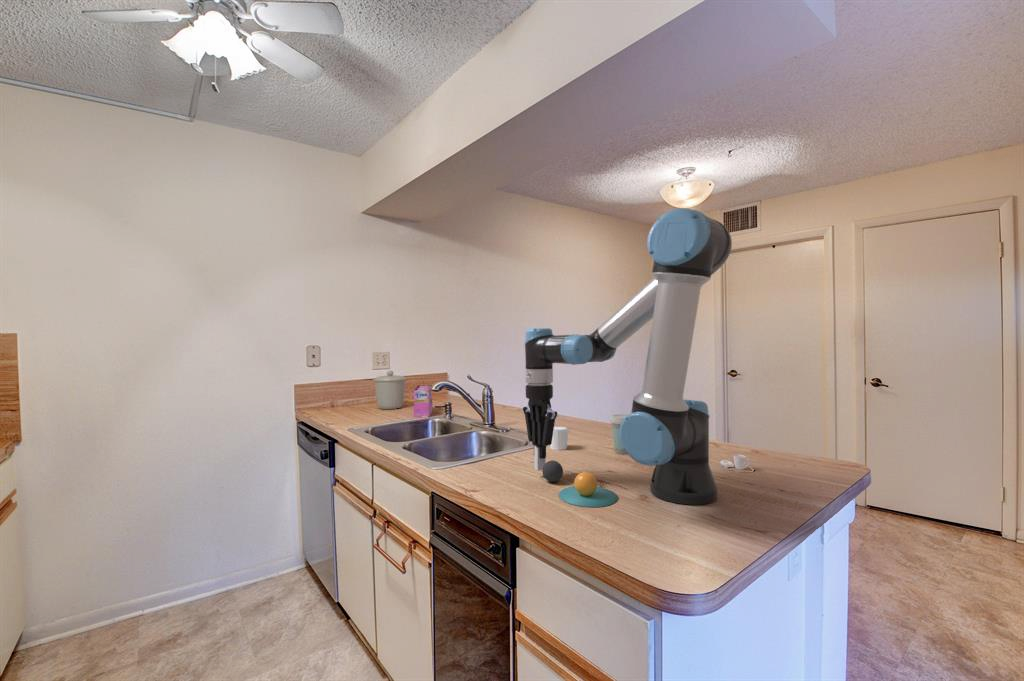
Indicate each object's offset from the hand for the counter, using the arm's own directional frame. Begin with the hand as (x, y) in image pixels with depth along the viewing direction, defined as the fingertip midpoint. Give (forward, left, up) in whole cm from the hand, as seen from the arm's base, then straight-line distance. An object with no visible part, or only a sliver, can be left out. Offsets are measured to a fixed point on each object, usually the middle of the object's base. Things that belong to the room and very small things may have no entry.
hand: (540, 469), depth 121 cm
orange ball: (-18, 0, +1) cm, 18 cm away
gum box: (+117, -13, -2) cm, 118 cm away
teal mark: (-19, 0, -2) cm, 19 cm away
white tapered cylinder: (+21, -24, -2) cm, 32 cm away
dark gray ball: (-6, 0, +1) cm, 6 cm away
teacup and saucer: (-26, -53, -3) cm, 59 cm away
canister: (+145, -5, -2) cm, 145 cm away
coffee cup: (+4, -38, -2) cm, 38 cm away
